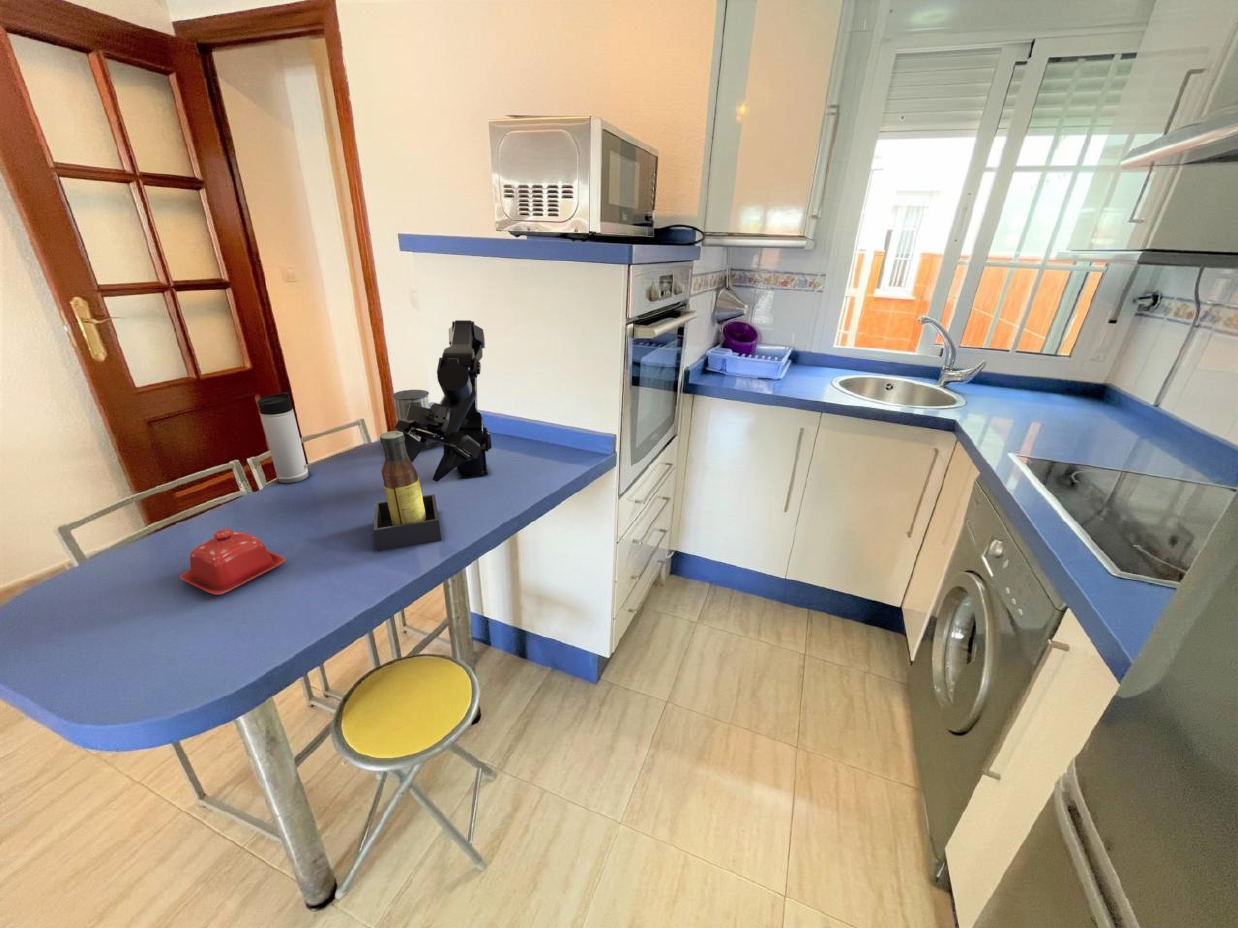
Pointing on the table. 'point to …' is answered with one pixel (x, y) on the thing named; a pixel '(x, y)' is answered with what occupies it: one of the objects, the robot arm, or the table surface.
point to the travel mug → (283, 437)
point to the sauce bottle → (401, 481)
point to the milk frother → (413, 398)
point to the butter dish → (229, 562)
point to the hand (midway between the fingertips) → (417, 475)
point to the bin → (406, 527)
